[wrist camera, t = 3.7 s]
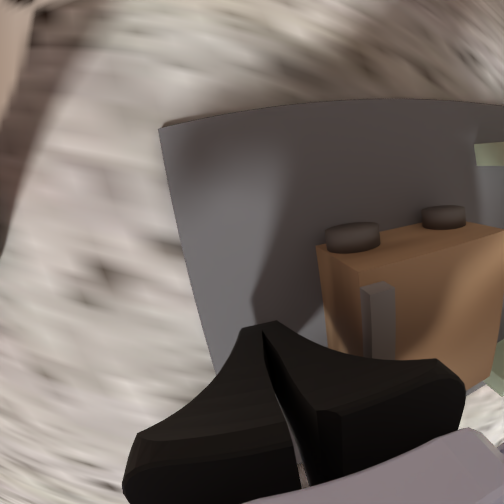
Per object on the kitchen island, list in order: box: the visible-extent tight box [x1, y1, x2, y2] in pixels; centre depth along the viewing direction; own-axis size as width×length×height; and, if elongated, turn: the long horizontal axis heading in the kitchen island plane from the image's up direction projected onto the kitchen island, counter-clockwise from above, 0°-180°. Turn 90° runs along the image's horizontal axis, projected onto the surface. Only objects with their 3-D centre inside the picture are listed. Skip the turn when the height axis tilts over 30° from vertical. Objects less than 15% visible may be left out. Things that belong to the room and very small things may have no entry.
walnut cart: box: [316, 205, 504, 390], centre depth 10 cm, size 7×6×4 cm
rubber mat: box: [158, 99, 504, 464], centre depth 12 cm, size 16×23×1 cm
